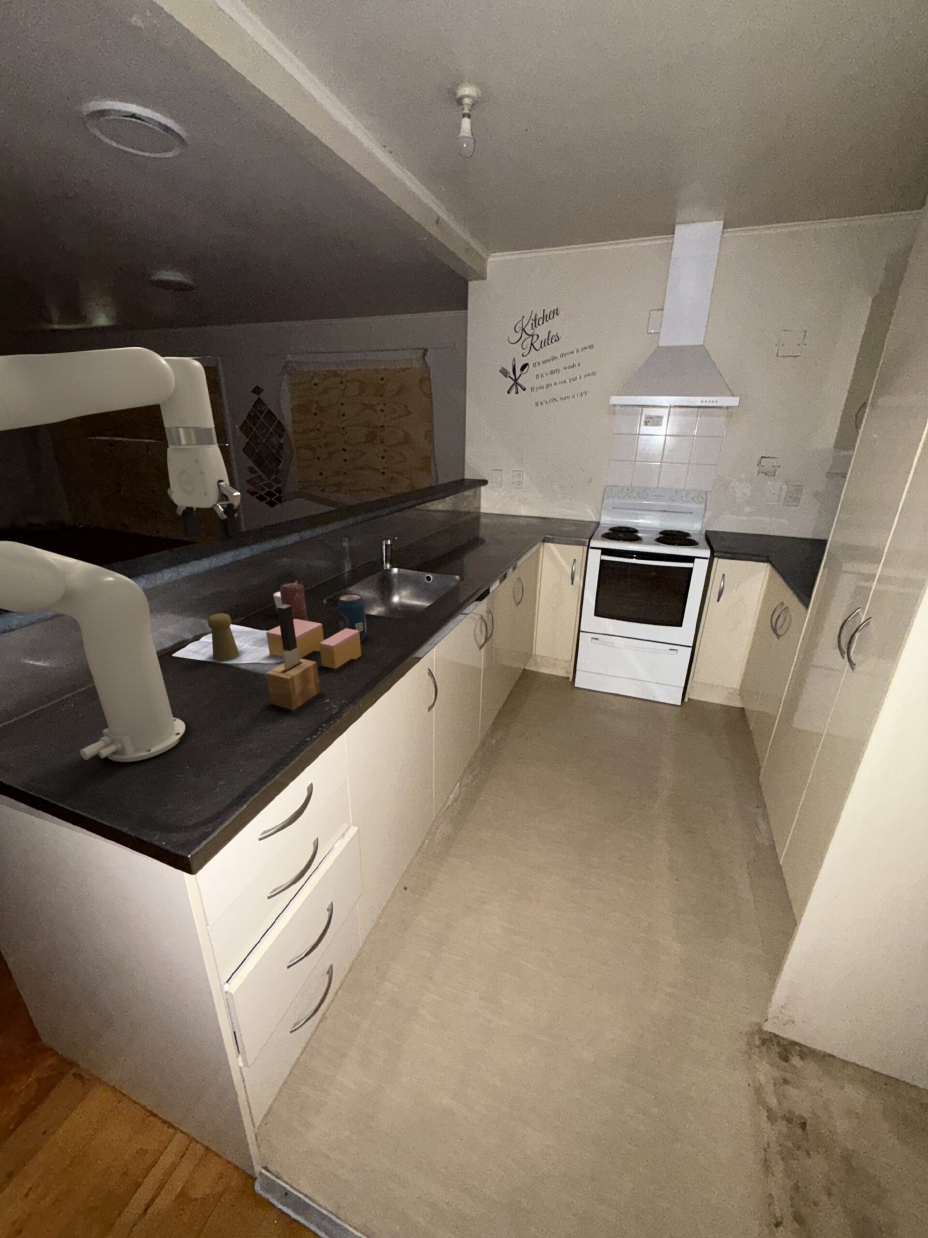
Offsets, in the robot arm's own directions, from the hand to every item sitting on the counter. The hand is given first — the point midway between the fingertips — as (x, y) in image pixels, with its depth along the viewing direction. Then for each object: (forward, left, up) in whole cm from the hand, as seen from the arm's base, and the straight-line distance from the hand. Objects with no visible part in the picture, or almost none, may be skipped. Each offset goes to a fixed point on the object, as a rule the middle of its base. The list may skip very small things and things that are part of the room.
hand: (211, 537), depth 89 cm
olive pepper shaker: (+14, +21, -34) cm, 43 cm away
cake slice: (+23, -8, -34) cm, 42 cm away
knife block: (+4, -11, -34) cm, 36 cm away
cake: (+23, +6, -34) cm, 42 cm away
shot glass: (+43, +28, -34) cm, 62 cm away
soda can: (+36, -2, -34) cm, 50 cm away
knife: (+4, -11, -33) cm, 35 cm away
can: (+34, +16, -34) cm, 51 cm away
